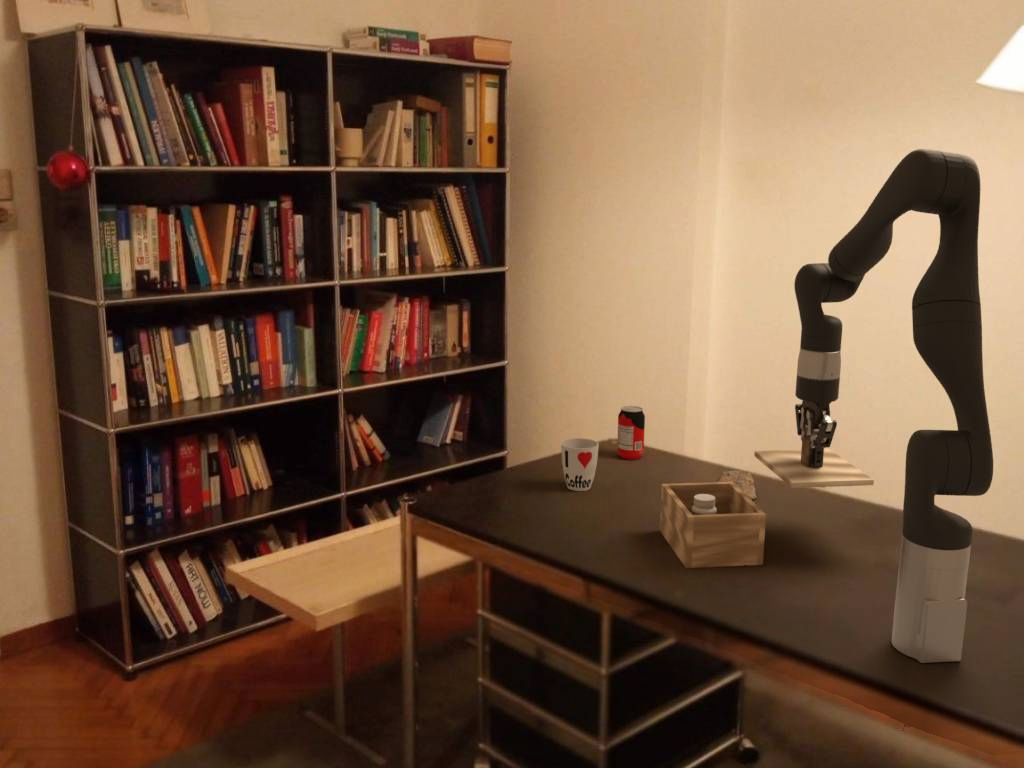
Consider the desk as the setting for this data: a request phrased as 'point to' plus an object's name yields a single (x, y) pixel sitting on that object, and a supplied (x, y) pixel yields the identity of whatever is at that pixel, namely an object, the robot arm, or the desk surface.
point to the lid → (801, 475)
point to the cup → (579, 462)
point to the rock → (740, 481)
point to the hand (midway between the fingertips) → (811, 463)
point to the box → (712, 526)
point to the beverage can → (631, 432)
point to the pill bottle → (703, 505)
